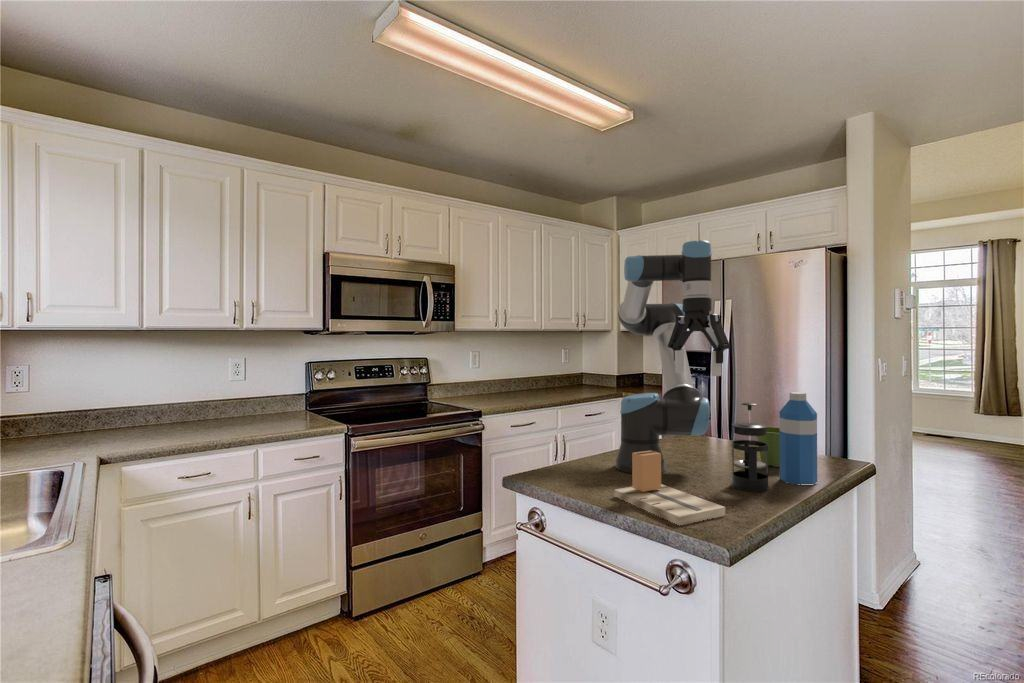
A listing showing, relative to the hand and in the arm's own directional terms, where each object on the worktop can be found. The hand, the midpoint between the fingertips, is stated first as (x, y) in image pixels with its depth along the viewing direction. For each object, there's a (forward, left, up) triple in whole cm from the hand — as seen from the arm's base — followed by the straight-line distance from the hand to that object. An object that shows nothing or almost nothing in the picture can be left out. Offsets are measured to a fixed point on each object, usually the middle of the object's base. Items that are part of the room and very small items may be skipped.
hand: (697, 374), depth 144 cm
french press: (+8, +11, -31) cm, 34 cm away
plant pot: (-6, +39, -31) cm, 50 cm away
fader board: (+9, -20, -31) cm, 38 cm away
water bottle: (+10, +28, -31) cm, 43 cm away
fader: (+2, -20, -28) cm, 35 cm away
